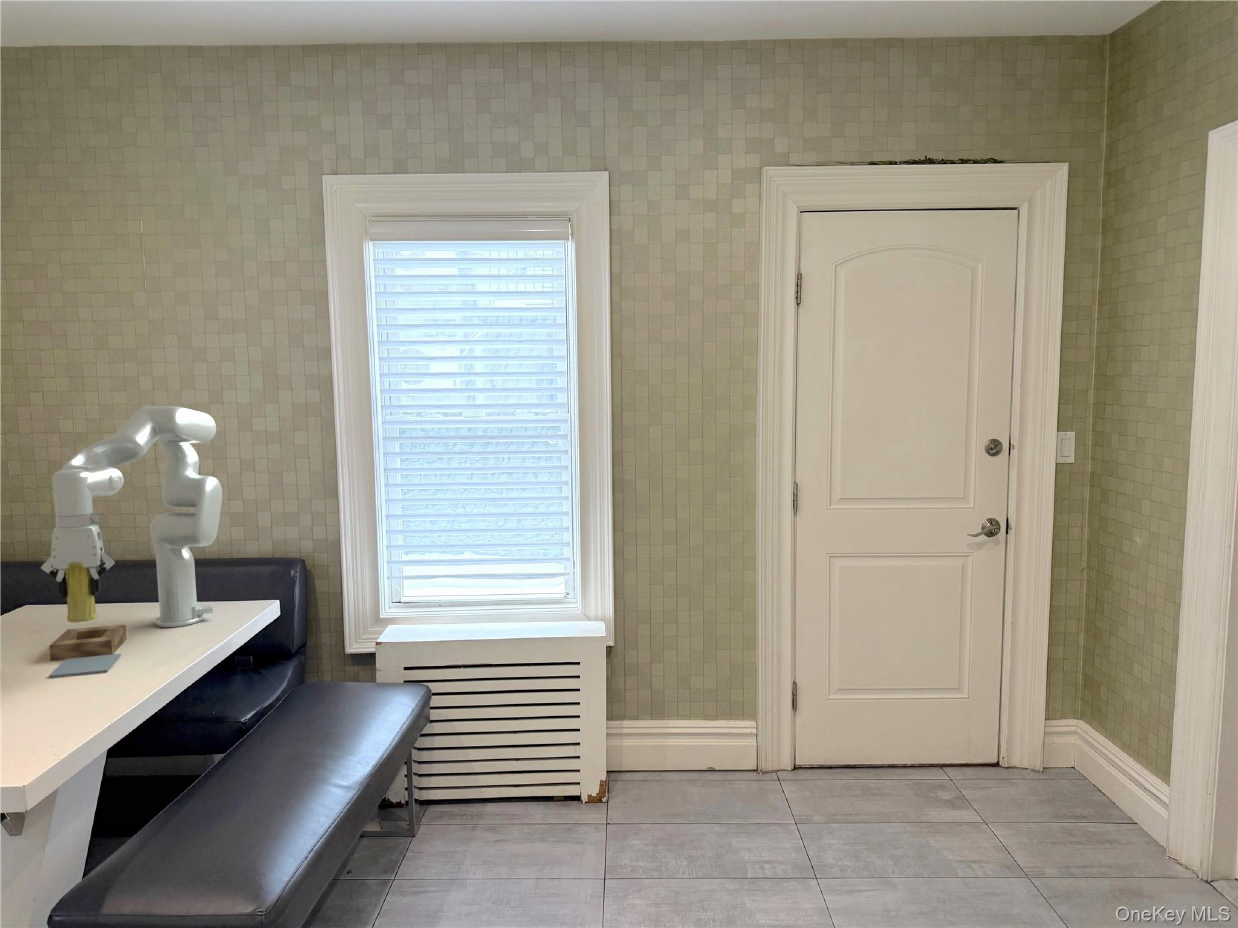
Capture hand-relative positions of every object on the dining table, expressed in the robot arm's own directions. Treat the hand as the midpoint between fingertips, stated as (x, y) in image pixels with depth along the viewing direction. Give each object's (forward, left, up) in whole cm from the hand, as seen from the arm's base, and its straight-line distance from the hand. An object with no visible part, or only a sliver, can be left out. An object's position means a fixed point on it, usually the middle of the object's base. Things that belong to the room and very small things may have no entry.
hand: (80, 594), depth 197 cm
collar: (+3, -14, -18) cm, 23 cm away
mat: (0, 0, -18) cm, 18 cm away
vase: (0, 0, -6) cm, 6 cm away
